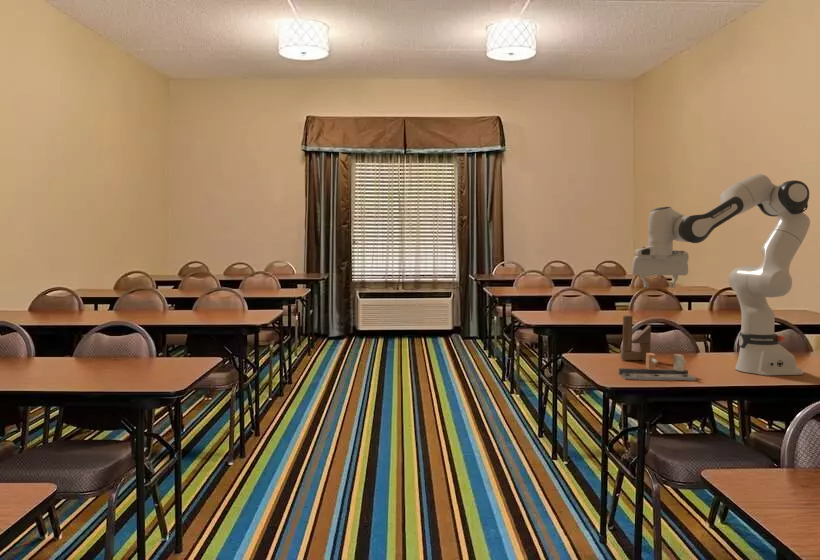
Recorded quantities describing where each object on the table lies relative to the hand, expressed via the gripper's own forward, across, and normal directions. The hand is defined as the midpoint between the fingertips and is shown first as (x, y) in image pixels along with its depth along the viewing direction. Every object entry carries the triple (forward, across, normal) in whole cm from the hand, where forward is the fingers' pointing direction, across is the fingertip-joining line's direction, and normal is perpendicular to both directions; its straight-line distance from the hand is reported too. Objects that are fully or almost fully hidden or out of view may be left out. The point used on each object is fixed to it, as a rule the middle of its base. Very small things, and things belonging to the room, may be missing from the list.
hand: (659, 287), depth 264 cm
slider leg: (+29, +5, +13) cm, 32 cm away
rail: (+31, +4, +13) cm, 34 cm away
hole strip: (+31, +4, +17) cm, 36 cm away
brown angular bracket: (+31, +4, -18) cm, 36 cm away
